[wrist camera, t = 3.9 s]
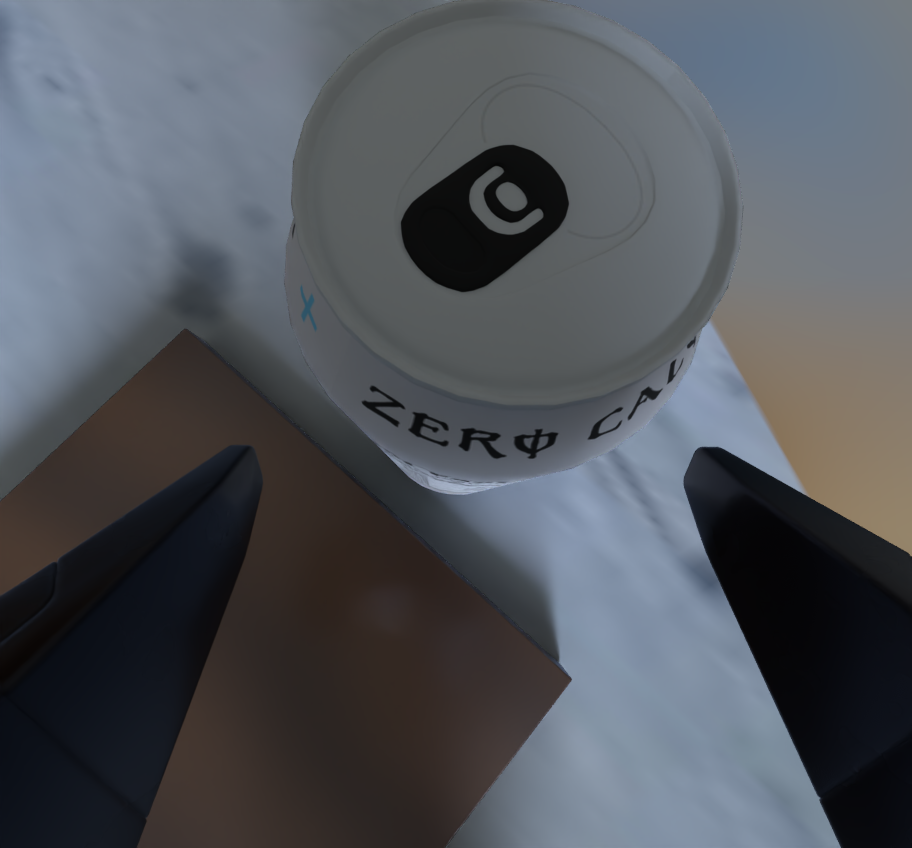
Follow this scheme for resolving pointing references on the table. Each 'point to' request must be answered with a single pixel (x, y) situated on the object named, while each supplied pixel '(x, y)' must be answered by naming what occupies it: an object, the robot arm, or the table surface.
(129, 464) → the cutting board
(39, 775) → the robot arm
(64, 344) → the table surface
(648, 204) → the energy drink can
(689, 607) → the table surface
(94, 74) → the table surface
